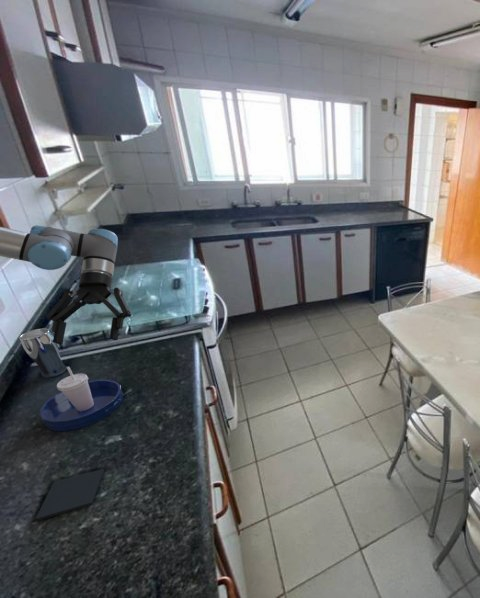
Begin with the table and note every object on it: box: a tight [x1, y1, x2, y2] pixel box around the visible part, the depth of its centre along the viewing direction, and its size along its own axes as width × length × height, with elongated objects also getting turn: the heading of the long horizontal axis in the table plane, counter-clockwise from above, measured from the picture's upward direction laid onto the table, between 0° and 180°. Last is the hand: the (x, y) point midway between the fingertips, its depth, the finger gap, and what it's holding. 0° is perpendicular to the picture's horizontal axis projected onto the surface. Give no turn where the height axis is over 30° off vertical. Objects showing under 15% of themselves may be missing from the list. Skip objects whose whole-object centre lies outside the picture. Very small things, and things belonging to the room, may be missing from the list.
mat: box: [35, 468, 105, 522], centre depth 73 cm, size 9×9×1 cm
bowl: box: [39, 379, 124, 432], centre depth 95 cm, size 17×17×4 cm
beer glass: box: [18, 327, 68, 379], centre depth 105 cm, size 7×7×15 cm
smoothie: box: [56, 366, 94, 411], centre depth 93 cm, size 6×6×14 cm
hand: (86, 341), depth 97 cm, fingers open, 13 cm apart
